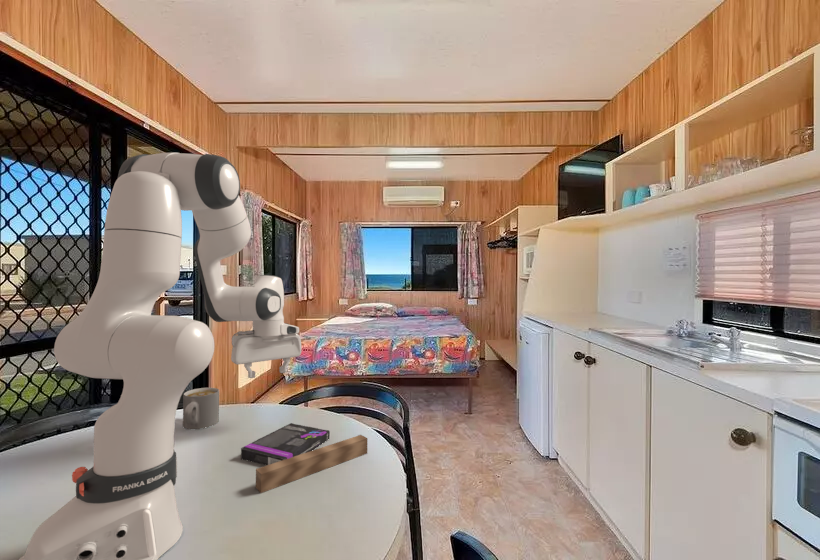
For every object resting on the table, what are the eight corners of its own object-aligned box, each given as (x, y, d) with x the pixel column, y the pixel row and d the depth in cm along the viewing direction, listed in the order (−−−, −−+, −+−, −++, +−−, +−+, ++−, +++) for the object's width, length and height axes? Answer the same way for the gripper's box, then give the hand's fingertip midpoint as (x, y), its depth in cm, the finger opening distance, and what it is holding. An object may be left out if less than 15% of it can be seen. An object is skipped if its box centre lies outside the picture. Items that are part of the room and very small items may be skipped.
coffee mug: (198, 417, 124) (198, 386, 124) (225, 419, 122) (226, 388, 123) (166, 432, 111) (166, 399, 111) (196, 435, 109) (196, 400, 109)
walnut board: (260, 493, 79) (261, 474, 79) (255, 487, 81) (255, 469, 82) (367, 453, 98) (367, 438, 98) (360, 449, 101) (360, 434, 101)
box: (283, 473, 89) (330, 441, 107) (283, 459, 89) (330, 428, 107) (239, 461, 95) (291, 432, 113) (240, 448, 95) (291, 420, 113)
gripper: (235, 333, 103) (234, 383, 103) (304, 327, 117) (303, 371, 117) (228, 330, 107) (227, 378, 107) (295, 325, 121) (294, 368, 121)
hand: (267, 375), depth 112 cm, fingers open, 8 cm apart
